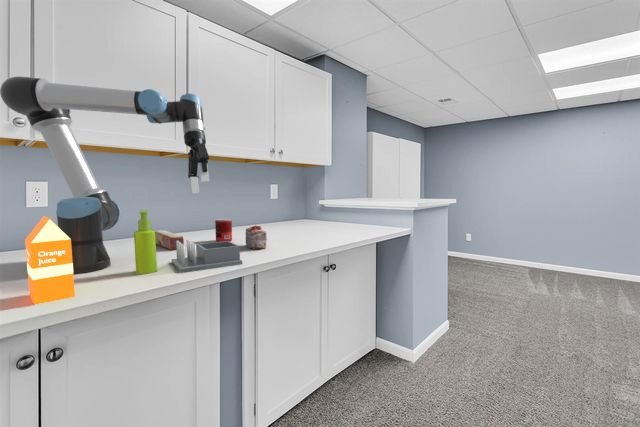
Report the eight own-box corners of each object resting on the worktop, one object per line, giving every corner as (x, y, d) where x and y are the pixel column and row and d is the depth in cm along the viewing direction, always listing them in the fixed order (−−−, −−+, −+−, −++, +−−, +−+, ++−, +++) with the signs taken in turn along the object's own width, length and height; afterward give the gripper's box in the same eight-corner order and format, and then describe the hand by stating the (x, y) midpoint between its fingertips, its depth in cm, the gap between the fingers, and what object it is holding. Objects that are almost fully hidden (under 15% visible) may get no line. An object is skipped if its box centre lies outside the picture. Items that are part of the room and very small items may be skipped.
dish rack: (180, 272, 101) (179, 247, 100) (171, 262, 114) (170, 240, 113) (242, 264, 112) (241, 241, 111) (227, 255, 125) (227, 235, 125)
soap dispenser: (135, 276, 97) (132, 211, 95) (136, 270, 103) (133, 209, 101) (156, 273, 100) (154, 210, 98) (156, 268, 106) (154, 208, 104)
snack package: (185, 249, 138) (184, 234, 138) (169, 251, 134) (168, 235, 133) (167, 242, 153) (167, 229, 153) (152, 244, 148) (152, 230, 148)
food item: (269, 249, 138) (268, 226, 137) (251, 251, 135) (250, 228, 134) (259, 244, 150) (259, 223, 149) (242, 245, 146) (242, 224, 146)
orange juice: (34, 305, 74) (27, 219, 72) (29, 296, 79) (22, 217, 78) (75, 296, 79) (70, 217, 78) (68, 288, 85) (62, 214, 83)
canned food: (234, 239, 161) (234, 218, 160) (228, 242, 153) (227, 220, 152) (219, 239, 162) (219, 218, 161) (213, 242, 154) (212, 219, 153)
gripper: (214, 119, 112) (220, 176, 108) (196, 148, 132) (201, 197, 128) (191, 116, 108) (198, 175, 104) (177, 147, 128) (182, 197, 124)
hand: (200, 187), depth 116 cm, fingers open, 13 cm apart
